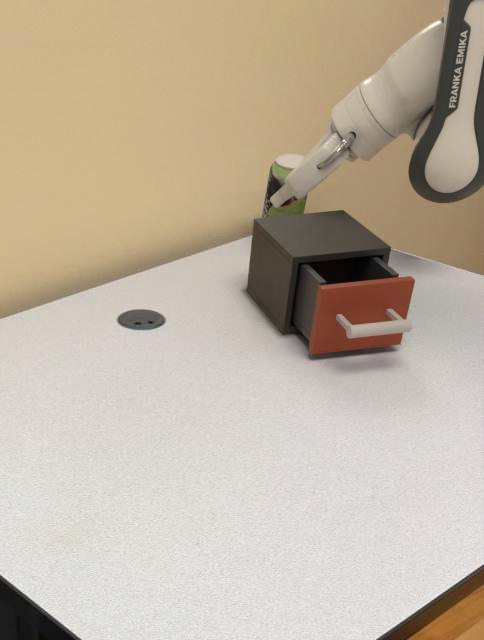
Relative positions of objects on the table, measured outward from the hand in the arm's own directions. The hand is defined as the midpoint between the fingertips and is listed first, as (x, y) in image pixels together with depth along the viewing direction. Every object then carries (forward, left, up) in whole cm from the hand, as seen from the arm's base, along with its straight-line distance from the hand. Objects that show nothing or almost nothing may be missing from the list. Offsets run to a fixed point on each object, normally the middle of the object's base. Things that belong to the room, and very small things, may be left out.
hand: (281, 193), depth 133 cm
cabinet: (+4, +25, -7) cm, 27 cm away
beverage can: (-1, 0, -7) cm, 7 cm away
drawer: (+4, +36, -6) cm, 37 cm away
